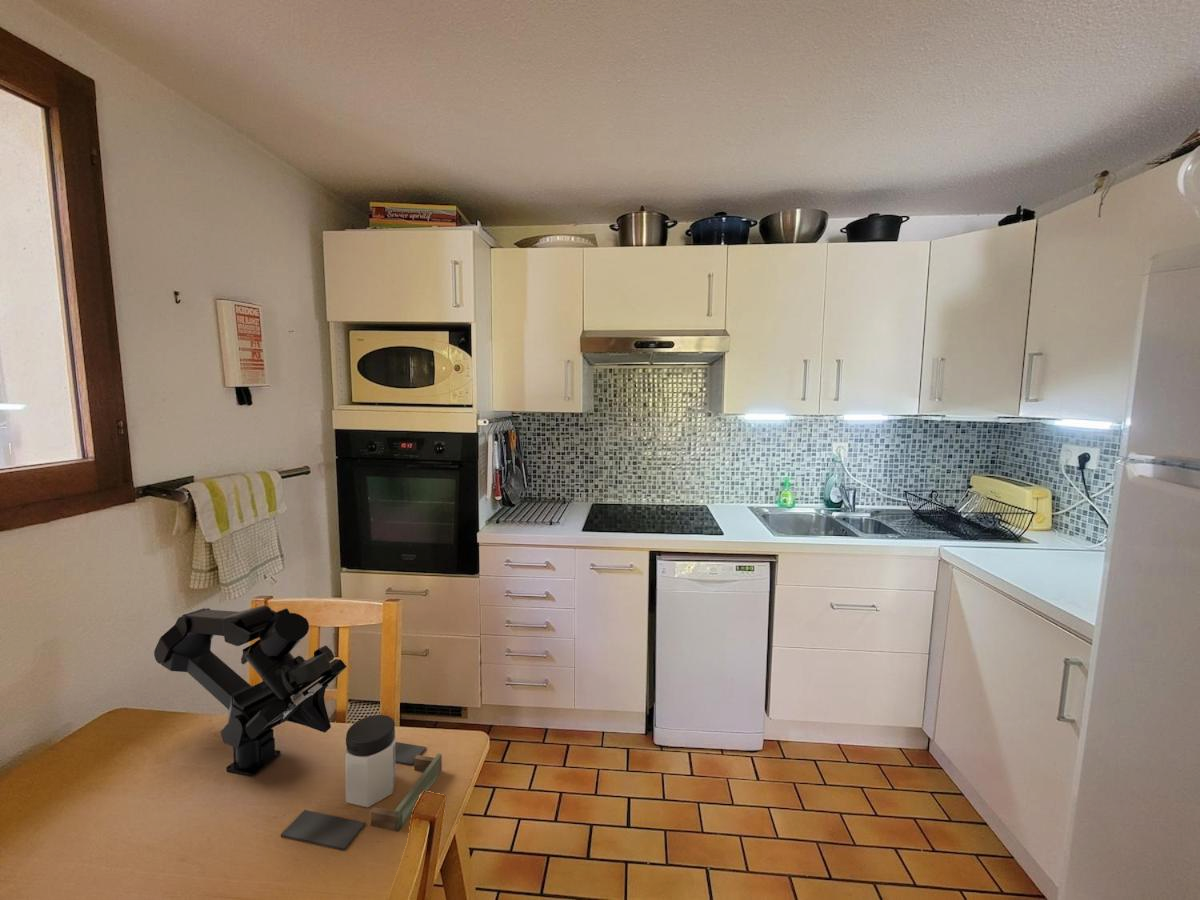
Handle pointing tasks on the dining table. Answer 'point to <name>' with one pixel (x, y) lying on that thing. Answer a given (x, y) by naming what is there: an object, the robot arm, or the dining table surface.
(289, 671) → the robot arm
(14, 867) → the dining table surface
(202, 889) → the dining table surface
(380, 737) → the jar
